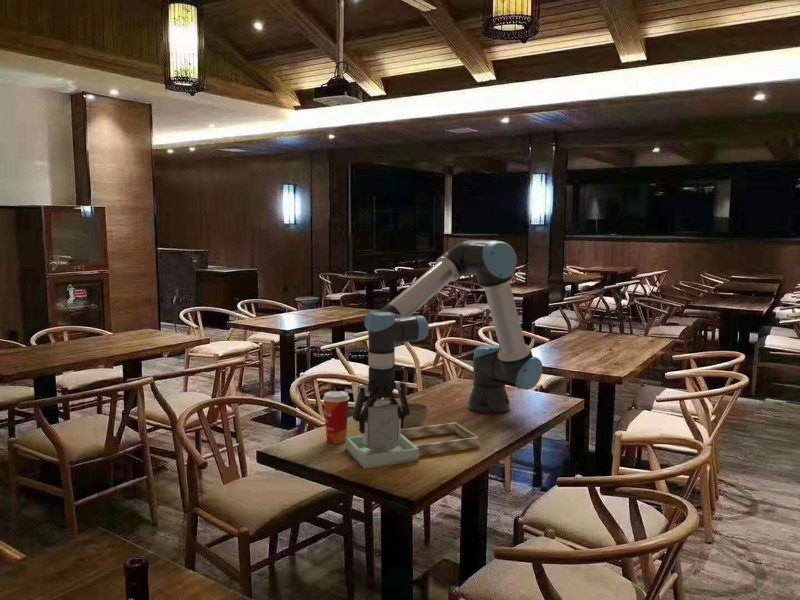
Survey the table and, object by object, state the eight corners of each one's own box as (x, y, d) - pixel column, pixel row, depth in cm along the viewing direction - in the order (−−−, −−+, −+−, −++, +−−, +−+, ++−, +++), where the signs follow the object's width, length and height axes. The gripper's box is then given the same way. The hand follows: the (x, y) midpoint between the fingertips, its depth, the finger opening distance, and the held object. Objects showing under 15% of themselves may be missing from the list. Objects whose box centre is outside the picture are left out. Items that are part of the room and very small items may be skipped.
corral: (455, 431, 206) (456, 422, 205) (479, 447, 191) (479, 437, 191) (394, 439, 198) (394, 430, 197) (413, 456, 183) (413, 446, 183)
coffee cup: (323, 436, 200) (323, 390, 198) (349, 436, 200) (349, 390, 199) (322, 446, 191) (322, 397, 190) (349, 445, 192) (349, 397, 190)
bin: (397, 441, 195) (397, 431, 195) (418, 460, 180) (418, 448, 180) (345, 448, 189) (345, 437, 189) (363, 468, 174) (363, 456, 173)
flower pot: (425, 433, 203) (425, 412, 202) (394, 431, 205) (394, 410, 204) (430, 424, 213) (430, 403, 212) (400, 422, 215) (401, 401, 214)
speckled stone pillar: (402, 441, 187) (402, 401, 186) (391, 452, 178) (391, 410, 177) (372, 437, 190) (372, 398, 189) (360, 448, 181) (360, 406, 180)
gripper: (411, 360, 189) (411, 432, 192) (340, 366, 181) (341, 441, 183) (422, 365, 182) (421, 440, 185) (348, 372, 174) (349, 450, 177)
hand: (381, 441), depth 184 cm, fingers closed on speckled stone pillar, 9 cm apart
